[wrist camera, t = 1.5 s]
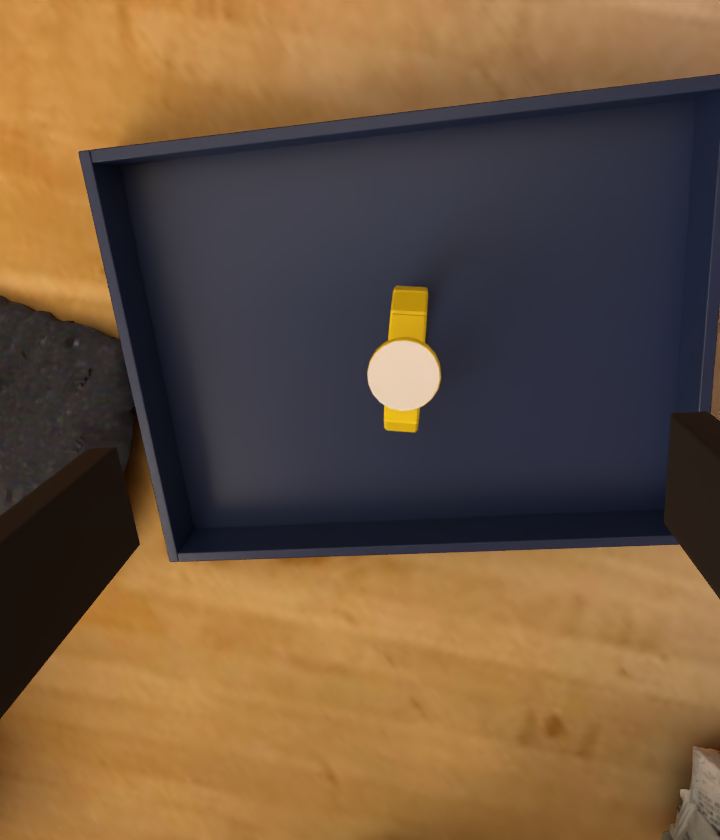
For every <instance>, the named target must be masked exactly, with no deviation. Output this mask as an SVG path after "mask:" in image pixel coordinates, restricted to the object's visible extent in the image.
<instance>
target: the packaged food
mask: <svg viewBox="0 0 720 840" xmlns="http://www.w3.org/2000/svg"><path fill="white" fill-rule="evenodd" d="M692 757H693V758H692V779H691V784H690V790H688V789H681V790H680V796H681V798H682V802H681V806H680V805H678V807H677V809H678V811H677V817H676V821H675V823H671V825H670V830H669V831H666V832H663V835H662V838H661V840H720V751H718V750H715V749H711V748H708V749H705V748H703V747H699V748H698V747H696V746H694V745H693V749H692Z"/></svg>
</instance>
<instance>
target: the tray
mask: <svg viewBox="0 0 720 840" xmlns="http://www.w3.org/2000/svg"><path fill="white" fill-rule="evenodd" d="M79 158H80V162H81V166H82V171H83V175H84V180H85V184H86V189H87V193H88V198H89V202H90V207H91V211H92V216H93V220H94V225H95V229H96V234H97V238H98V243H99V247H100V252H101V256H102V261H103V265H104V270H105V274H106V279H107V283H108V288H109V292H110V296H111V301H112V305H113V310H114V314H115V319H116V323H117V328H118V332H119V337H120V341H121V346H122V350H123V355H124V359H125V364H126V368H127V373H128V377H129V382H130V386H131V391H132V395H133V400H134V404H135V409H136V413H137V417H138V422H139V426H140V431H141V435H142V440H143V444H144V449H145V453H146V458H147V462H148V467H149V471H150V476H151V480H152V485H153V489H154V494H155V498H156V503H157V507H158V512H159V516H160V521H161V525H162V530H163V534H164V538H165V543H166V547H167V552H168V556H169V561H170V562H178V561H180V562H185V561H214V560H243V559H272V558H301V557H330V556H359V555H388V554H417V553H447V552H476V551H505V550H534V549H563V548H592V547H621V546H650V545H679V543H678V541H677V540H676V539H675V537H674V536H673V535H672V533H671V532H670V530H669V529H668V528H667V526H666V525H665V524H664V510H665V495H666V479H667V464H668V448H669V433H670V417H671V413H684V412H700V411H707V412H709V413H710V412H711V401H712V389H713V377H714V365H715V353H716V341H717V329H718V317H719V305H720V74H716V75H708V76H700V77H691V78H683V79H675V80H666V81H658V82H650V83H641V84H633V85H625V86H617V87H608V88H600V89H592V90H583V91H575V92H567V93H558V94H550V95H542V96H534V97H525V98H517V99H509V100H500V101H492V102H484V103H475V104H467V105H459V106H451V107H442V108H434V109H426V110H417V111H409V112H401V113H392V114H384V115H376V116H368V117H359V118H351V119H343V120H334V121H326V122H318V123H309V124H301V125H293V126H285V127H276V128H268V129H260V130H251V131H243V132H235V133H227V134H218V135H210V136H202V137H193V138H185V139H177V140H168V141H160V142H152V143H144V144H135V145H127V146H119V147H110V148H102V149H94V150H85V151H79ZM396 286H414V287H426V288H427V289H428V305H427V322H426V336H425V343H426V344H427V345H429V346H430V348H431V349H432V350H433V351H434V352H435V353H436V355H437V358H438V360H439V362H440V368H441V381H440V385H439V389H438V391H437V392H436V394H435V395H434V397H433V398H432V399H431V400H430V401H429V402H428V403H426V404H425V405H424V406H422V407H420V413H419V423H418V430H417V431H416V432H402V431H389V430H386V429H385V428H384V405H383V404H382V403H380V402H379V401H378V399H377V398H376V397H375V396H374V395H373V393H372V391H371V389H370V387H369V384H368V377H367V371H368V367H369V362H370V360H371V358H372V356H373V354H374V353H375V351H376V349H377V348H379V347H380V346H381V345H382V344H383V343H384V342H386V341H388V335H389V324H390V313H391V304H392V295H393V290H394V288H395V287H396Z"/></svg>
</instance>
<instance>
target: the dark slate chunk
mask: <svg viewBox="0 0 720 840" xmlns="http://www.w3.org/2000/svg"><path fill="white" fill-rule="evenodd" d="M134 406H135V404H134V400H133V395H132V391H131V386H130V382H129V377H128V373H127V368H126V364H125V359H124V355H123V350H122V346H121V341H120V340H118V339H116V338H114V337H107V336H105V335H104V334H103V333H102V332H100V331H98V330H96V329H93V328H90V327H87V326H83V325H80V324H75V322H74V321H66V322H63V321H60V320H58V319H57V318H55V317H54V316H53V315H52V314H51V313H49V312H44V311H34V310H33V309H31V308H29V307H27V306H25V305H22V304H19V303H15V302H10V301H9V300H8V299H6V298H5V297H3V296H0V516H1V515H2V514H3V513H5V512H6V511H7V510H8V509H10V508H11V507H12V506H14V505H15V504H16V503H18V502H19V501H20V500H21V499H23V498H24V497H25V496H27V495H28V494H29V493H31V492H32V491H33V490H34V489H36V488H37V487H38V486H40V485H41V484H42V483H44V482H45V481H46V480H47V479H49V478H50V477H51V476H53V475H54V474H55V473H57V472H58V471H59V470H60V469H62V468H63V467H64V466H66V465H67V464H68V463H70V462H71V461H72V460H74V459H75V458H76V457H77V456H79V455H80V454H81V453H83V452H84V451H85V450H87V449H91V448H108V447H117V451H118V455H119V459H120V463H121V468H122V472H123V474H124V471H125V468H126V465H127V462H128V458H129V455H130V452H131V448H132V444H133V436H132V435H133V431H132V427H133V425H134V422H133V420H134V415H133V410H132V408H133V407H134Z"/></svg>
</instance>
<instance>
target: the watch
mask: <svg viewBox="0 0 720 840" xmlns="http://www.w3.org/2000/svg"><path fill="white" fill-rule="evenodd" d="M427 305H428V289H427V288H426V287H414V286H396V287H395V288H394V290H393V295H392V304H391V313H390V324H389V335H388V341H386V342H384V343H383V344H382V345H381V346H380V347H379V348H377V349H376V351H375V353H374V354H373V356H372V358H371V360H370V362H369V367H368V371H367V377H368V384H369V387H370V389H371V391H372V393H373V395H374V396H375V397H376V398H377V399H378V401H379V402H380V403H382V404H383V405H384V428H385V429H386V430H389V431H402V432H416V431H417V430H418V423H419V413H420V407H422V406H424V405H425V404H426V403H428V402H429V401H430V400H431V399H432V398H433V397H434V395H435V394H436V392H437V391H438V389H439V385H440V381H441V368H440V362H439V360H438V358H437V355H436V353H435V352H434V351H433V350H432V349H431V348H430V346H429V345H427V344H426V343H425V336H426V322H427Z"/></svg>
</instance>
